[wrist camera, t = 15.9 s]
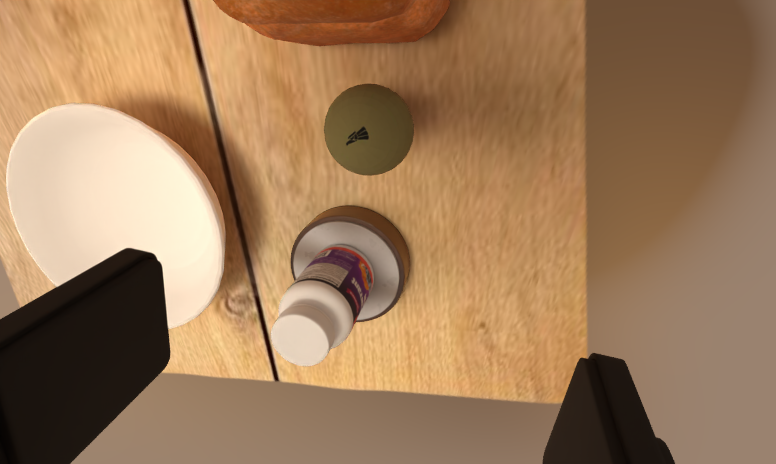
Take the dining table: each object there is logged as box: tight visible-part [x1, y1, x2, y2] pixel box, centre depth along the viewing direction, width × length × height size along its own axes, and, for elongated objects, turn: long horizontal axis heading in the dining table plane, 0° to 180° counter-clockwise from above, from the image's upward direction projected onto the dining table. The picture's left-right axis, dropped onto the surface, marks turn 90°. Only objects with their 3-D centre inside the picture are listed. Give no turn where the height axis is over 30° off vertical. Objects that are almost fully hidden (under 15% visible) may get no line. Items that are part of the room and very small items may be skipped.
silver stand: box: [291, 206, 410, 322], centre depth 39 cm, size 10×10×3 cm
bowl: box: [6, 103, 226, 329], centre depth 40 cm, size 20×20×6 cm
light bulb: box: [324, 84, 414, 175], centre depth 31 cm, size 6×6×10 cm
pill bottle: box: [271, 245, 374, 366], centre depth 34 cm, size 5×5×10 cm
